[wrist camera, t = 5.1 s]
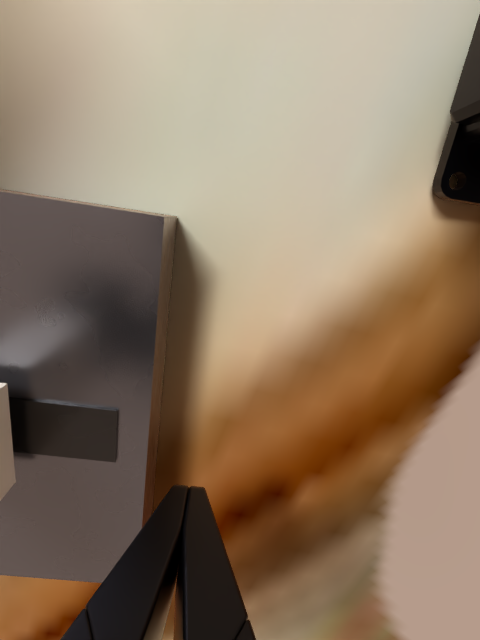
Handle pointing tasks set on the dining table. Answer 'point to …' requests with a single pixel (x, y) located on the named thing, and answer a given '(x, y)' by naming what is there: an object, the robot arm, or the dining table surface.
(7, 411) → the fader tab
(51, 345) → the console
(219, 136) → the dining table surface
